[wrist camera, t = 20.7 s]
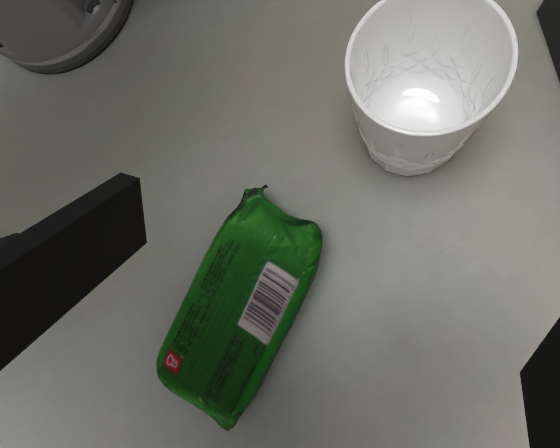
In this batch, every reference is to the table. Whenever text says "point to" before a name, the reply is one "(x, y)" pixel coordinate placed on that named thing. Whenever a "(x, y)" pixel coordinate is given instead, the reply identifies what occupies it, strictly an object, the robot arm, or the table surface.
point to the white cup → (427, 77)
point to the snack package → (239, 308)
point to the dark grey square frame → (551, 28)
